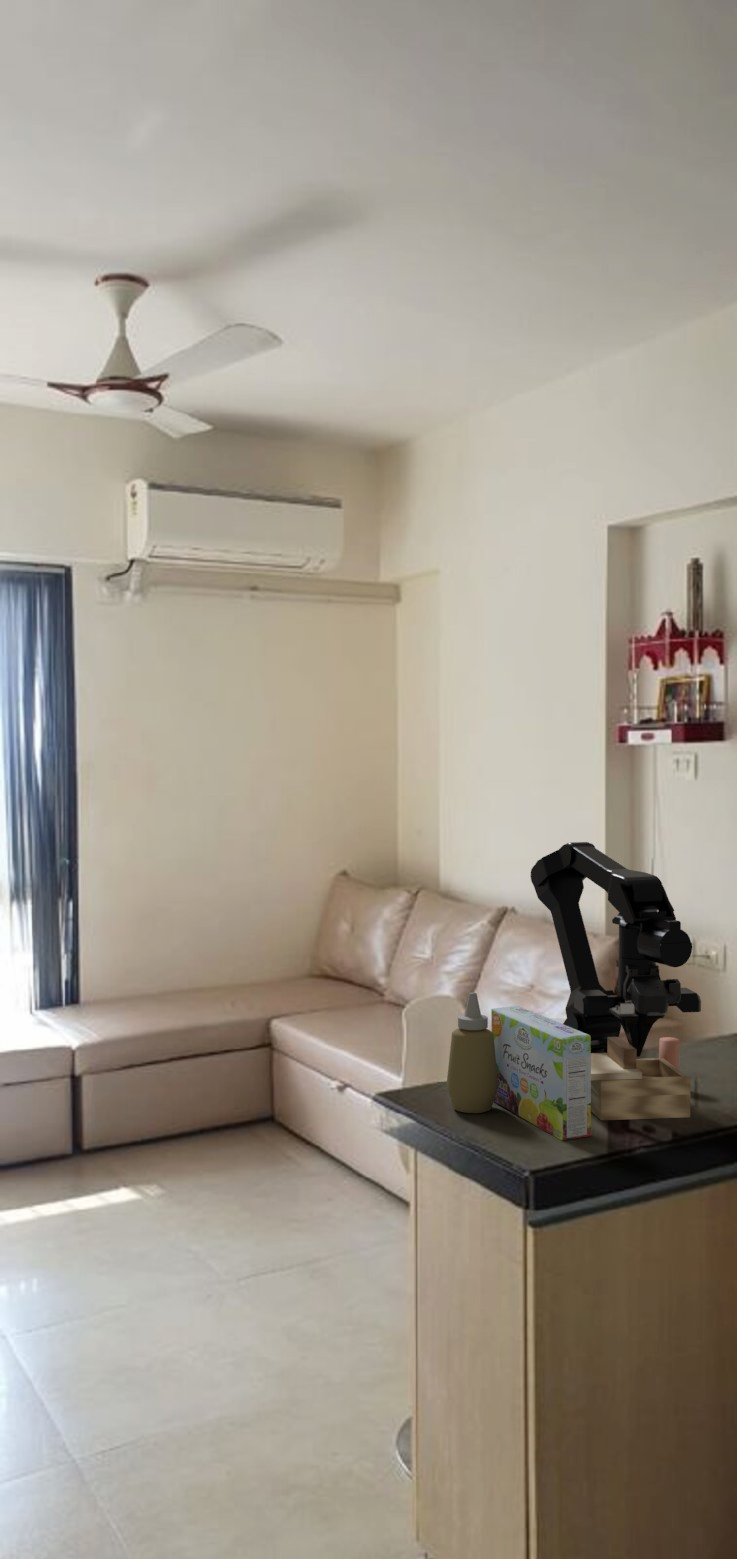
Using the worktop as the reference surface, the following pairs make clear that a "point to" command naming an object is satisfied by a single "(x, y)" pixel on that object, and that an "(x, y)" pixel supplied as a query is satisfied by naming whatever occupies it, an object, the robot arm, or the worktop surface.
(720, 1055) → the worktop surface
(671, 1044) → the key peg
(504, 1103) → the snack box
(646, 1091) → the wooden box
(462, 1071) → the squeeze bottle
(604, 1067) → the lid
